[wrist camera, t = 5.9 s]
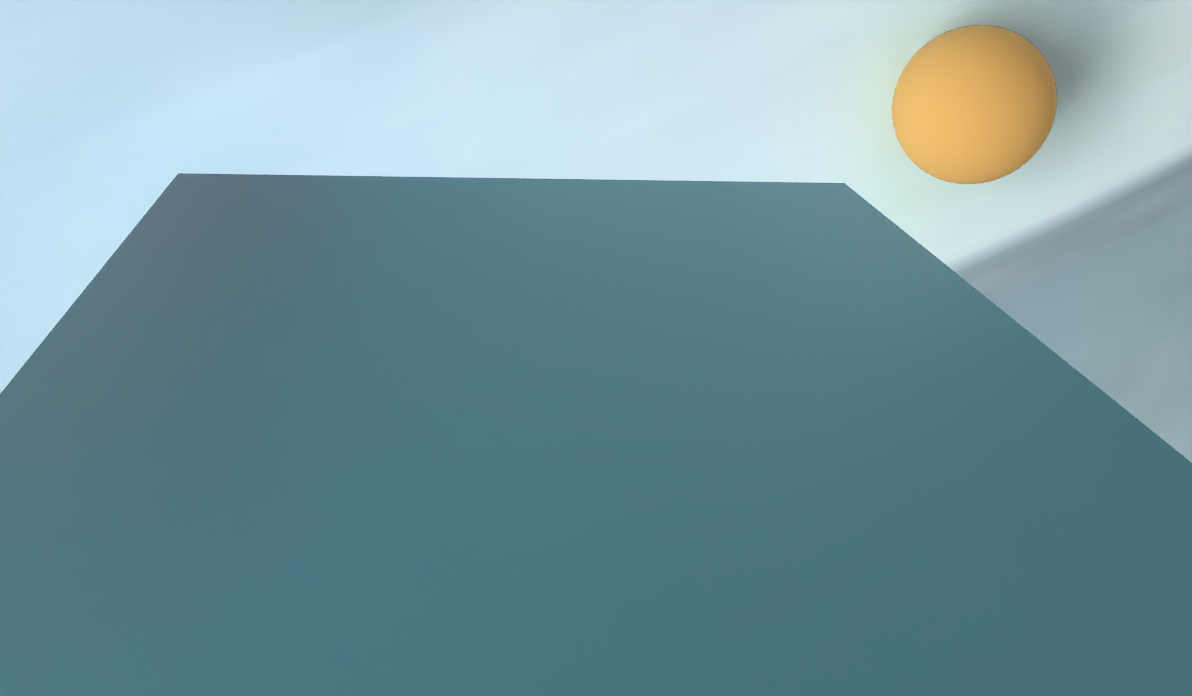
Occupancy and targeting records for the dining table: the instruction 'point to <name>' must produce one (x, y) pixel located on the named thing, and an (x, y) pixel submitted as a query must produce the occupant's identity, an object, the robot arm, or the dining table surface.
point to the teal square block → (569, 458)
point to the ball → (974, 104)
